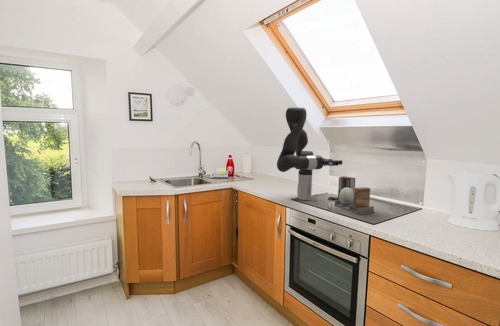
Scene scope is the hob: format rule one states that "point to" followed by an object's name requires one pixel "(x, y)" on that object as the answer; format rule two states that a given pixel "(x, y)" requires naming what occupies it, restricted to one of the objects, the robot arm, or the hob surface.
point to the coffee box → (346, 184)
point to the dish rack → (349, 207)
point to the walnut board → (361, 198)
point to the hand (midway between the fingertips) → (336, 161)
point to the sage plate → (346, 195)
